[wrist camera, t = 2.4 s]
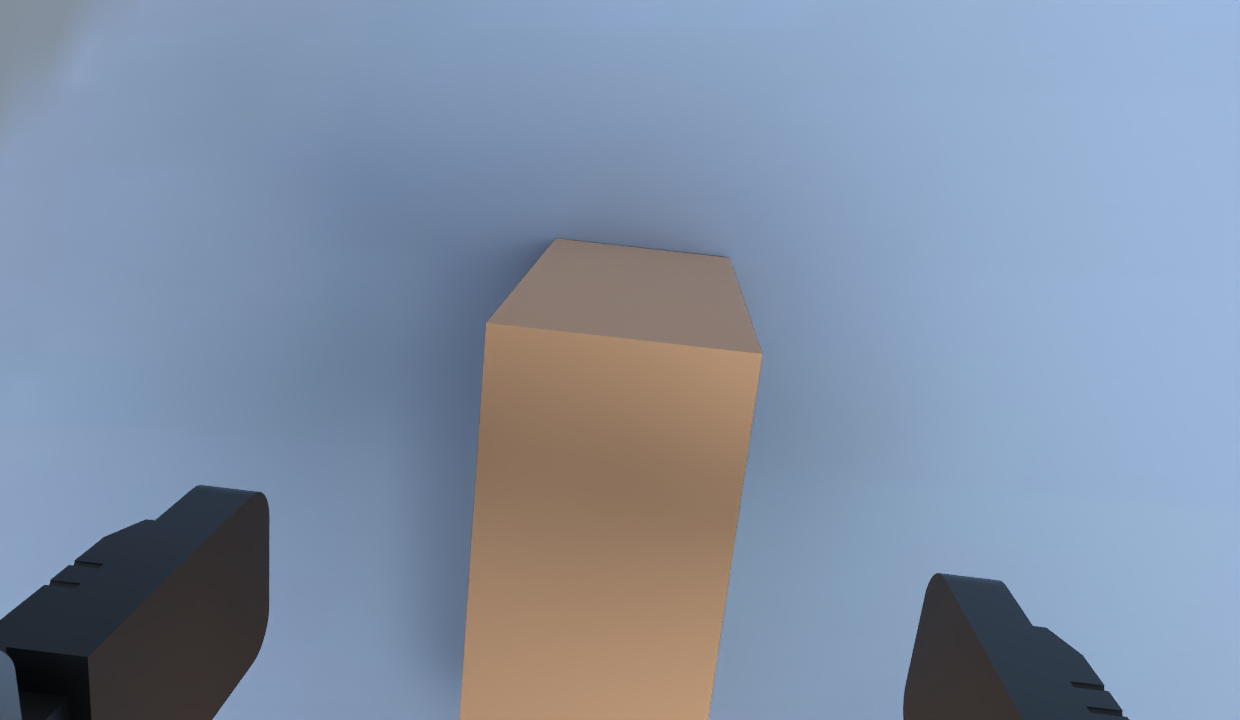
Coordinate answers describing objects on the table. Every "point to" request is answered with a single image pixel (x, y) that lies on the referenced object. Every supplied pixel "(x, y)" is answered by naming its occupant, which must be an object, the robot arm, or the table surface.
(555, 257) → the wooden staple shape
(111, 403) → the table surface
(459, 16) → the table surface
